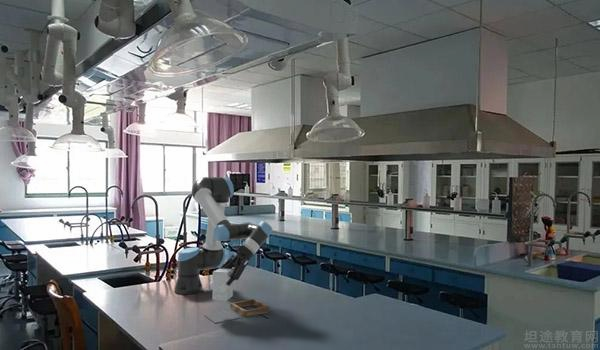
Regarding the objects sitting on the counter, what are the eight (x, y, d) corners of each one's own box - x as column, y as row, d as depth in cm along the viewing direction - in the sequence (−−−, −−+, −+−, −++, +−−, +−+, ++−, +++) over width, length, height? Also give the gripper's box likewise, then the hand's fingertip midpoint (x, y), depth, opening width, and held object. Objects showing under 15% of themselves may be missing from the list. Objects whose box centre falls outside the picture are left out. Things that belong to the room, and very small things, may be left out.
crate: (230, 308, 199) (230, 303, 199) (254, 304, 206) (254, 298, 206) (244, 317, 186) (244, 311, 186) (269, 312, 194) (269, 306, 194)
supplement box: (227, 300, 182) (227, 272, 182) (211, 299, 183) (212, 271, 183) (233, 296, 189) (233, 268, 189) (218, 295, 190) (218, 268, 191)
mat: (204, 315, 188) (204, 315, 188) (228, 311, 195) (228, 310, 195) (215, 323, 178) (215, 322, 178) (239, 318, 185) (240, 317, 185)
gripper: (264, 258, 186) (233, 298, 177) (241, 251, 204) (212, 287, 195) (254, 247, 183) (221, 288, 174) (232, 241, 201) (201, 278, 192)
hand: (216, 288), depth 184 cm, fingers closed on supplement box, 10 cm apart
